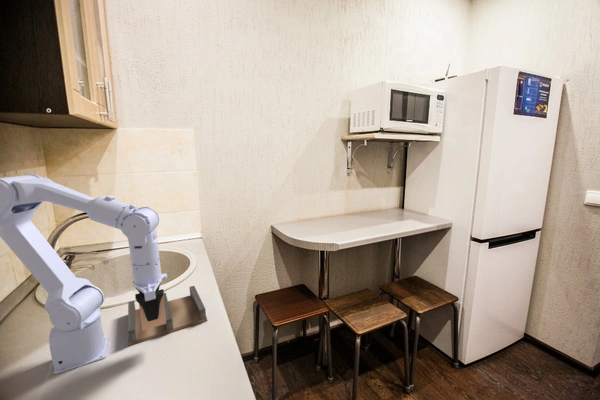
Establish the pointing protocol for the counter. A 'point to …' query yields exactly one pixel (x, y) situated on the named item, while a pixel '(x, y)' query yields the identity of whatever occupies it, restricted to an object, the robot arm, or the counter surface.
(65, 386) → the counter surface
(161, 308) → the block
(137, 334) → the rack
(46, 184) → the robot arm
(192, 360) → the counter surface
